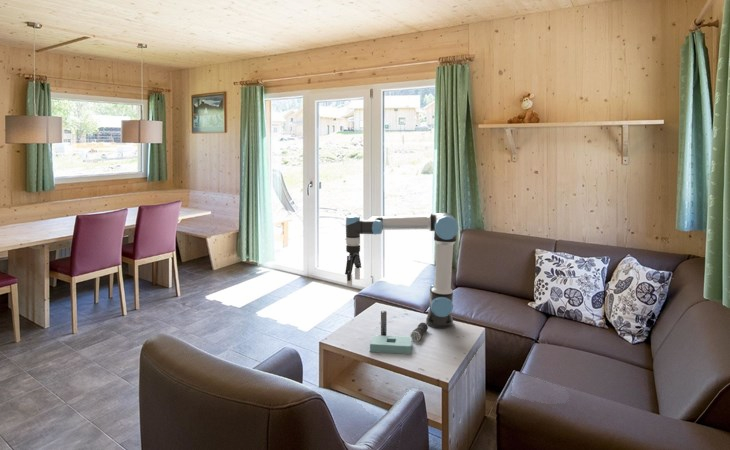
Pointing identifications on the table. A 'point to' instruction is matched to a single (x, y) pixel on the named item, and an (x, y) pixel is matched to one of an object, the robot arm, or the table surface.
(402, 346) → the hole block
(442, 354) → the table surface
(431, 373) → the table surface
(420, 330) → the flashlight
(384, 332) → the peg
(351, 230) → the robot arm
